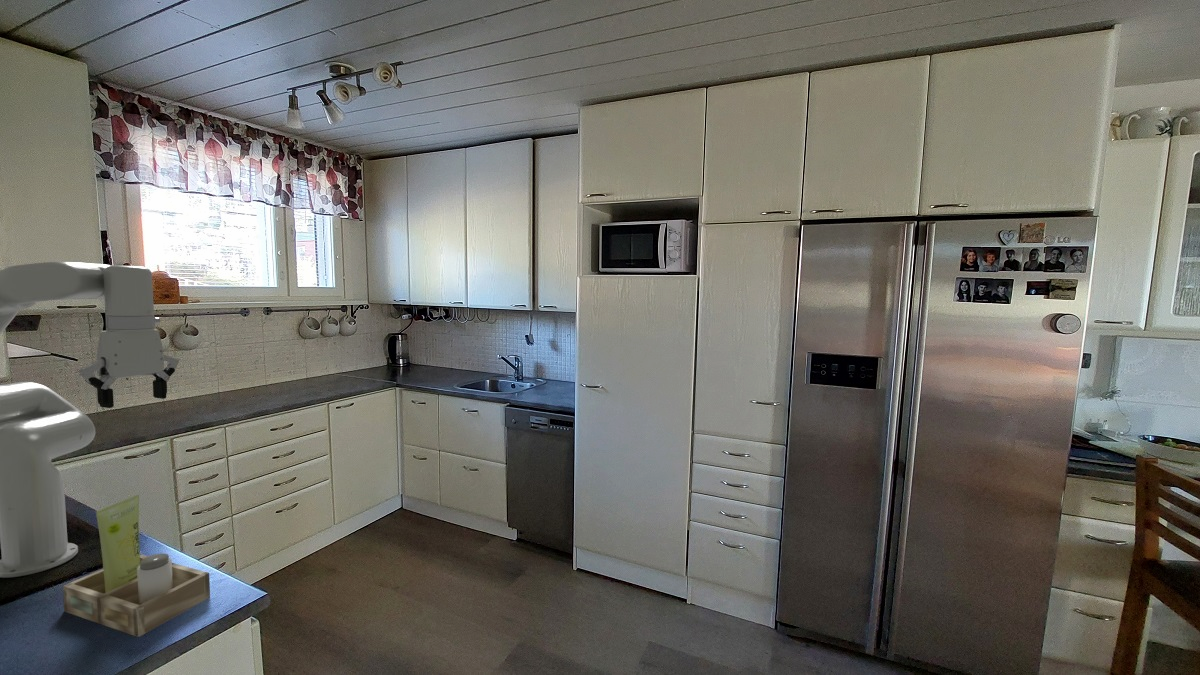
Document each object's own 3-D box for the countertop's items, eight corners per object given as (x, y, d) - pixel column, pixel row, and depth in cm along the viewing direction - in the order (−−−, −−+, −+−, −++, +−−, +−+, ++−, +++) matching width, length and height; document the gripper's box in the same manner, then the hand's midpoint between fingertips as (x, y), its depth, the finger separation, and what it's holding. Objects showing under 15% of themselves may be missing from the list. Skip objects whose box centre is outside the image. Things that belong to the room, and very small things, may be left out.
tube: (138, 601, 95) (133, 504, 93) (101, 610, 92) (95, 510, 90) (143, 586, 100) (139, 493, 98) (108, 594, 97) (103, 499, 95)
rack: (63, 616, 92) (61, 586, 91) (140, 580, 103) (139, 553, 103) (137, 642, 86) (135, 610, 85) (210, 601, 98) (209, 573, 97)
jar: (132, 614, 92) (130, 563, 91) (162, 599, 96) (160, 550, 95) (150, 620, 90) (148, 568, 89) (179, 604, 95) (177, 555, 94)
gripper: (164, 321, 115) (167, 393, 116) (65, 325, 98) (70, 409, 100) (187, 322, 112) (190, 396, 114) (90, 327, 96) (95, 413, 98)
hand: (134, 402), depth 107 cm, fingers open, 9 cm apart
